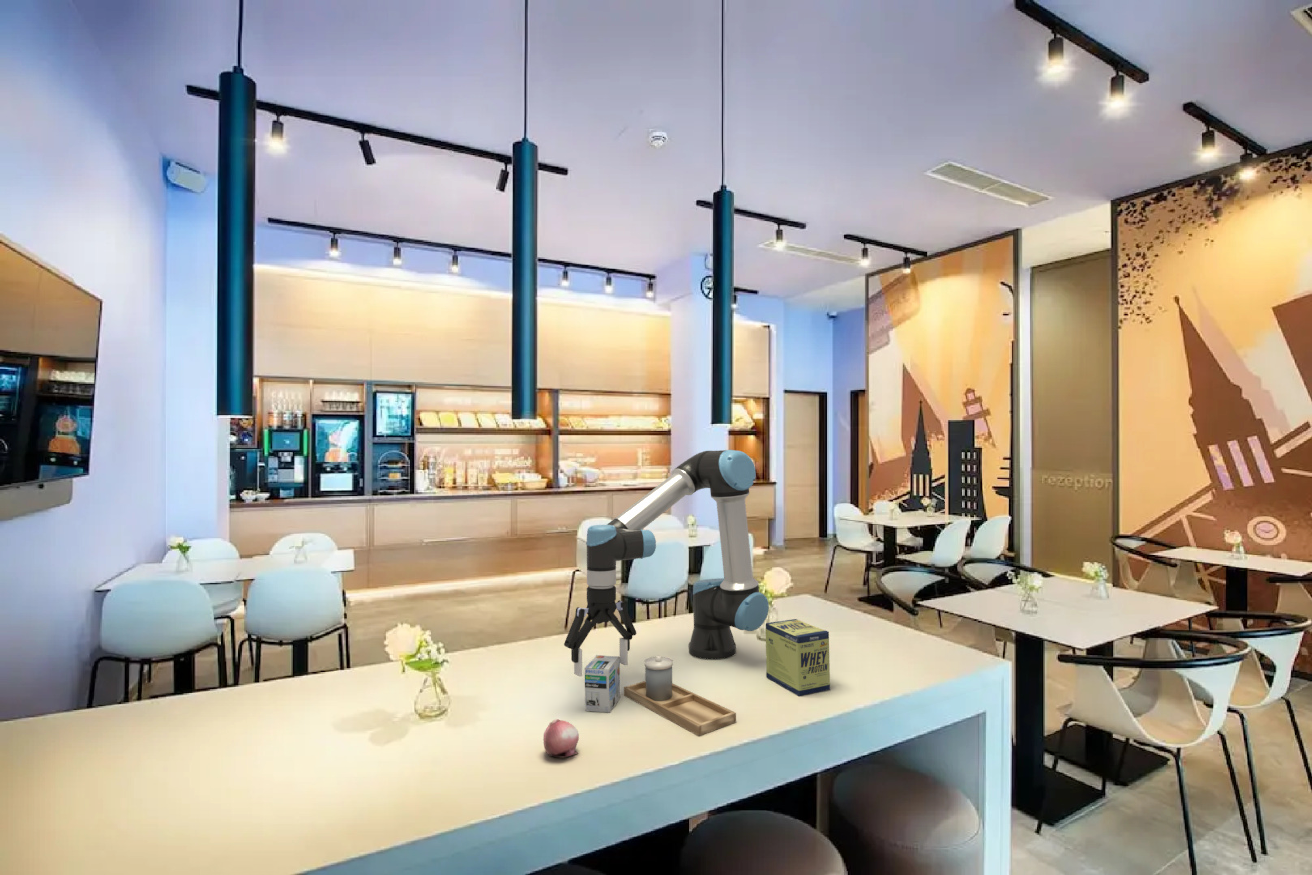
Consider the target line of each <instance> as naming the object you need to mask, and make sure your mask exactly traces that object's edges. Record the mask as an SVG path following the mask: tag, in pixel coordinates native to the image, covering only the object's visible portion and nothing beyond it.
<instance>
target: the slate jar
mask: <svg viewBox="0 0 1312 875" xmlns="http://www.w3.org/2000/svg"><path fill="white" fill-rule="evenodd" d="M643 664H644V670H645V671H644V672H645V674H644V675H645V679H644V681H645V685H646V697H648V698H650V699H652V700H654V701H666V700H669V699H671V698H672V696H673V691H672V683H673V665H674V662H673V659H672V658H670V657H667V656H661V655H657V656H650V657H647V658H645V659H644V663H643Z"/></svg>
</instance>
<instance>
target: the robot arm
mask: <svg viewBox="0 0 1312 875" xmlns="http://www.w3.org/2000/svg"><path fill="white" fill-rule="evenodd" d="M755 479H756V468H755V464H754V462H753V459H752V458H751V457H750V456H749V455H748V454H747V453H745V452H743V451H742V450H734V449H725V450H722V449H721V450H704V451H701V452H698V453H696V454H695V455H693V456H691V457H689V458H688V459H686V460H684V461H683V462H682V463H681V464H679V465H677V467H675V468H674V469H673V470H672V471H671V475H670V476H669V477H667V478H666V479H665V480H664V481H662V482H661V483H660V484H657V486H656V487H654V488H653V489H652V490H650V491H649V492H647V494H645V495H644V496H642V497H641V498H640V499H639V500H638V501H636V502H635V503H634V504H632V505H631V506H629V507H628V508H627V509H626V510H624V511H622V512H621V513H620V514H619V515H617V516H616V517H615V518H614V519H612V520H611V521H610V522H609V523H606V524H593V525H590V526H589V527H588V528H587V530H586V532H587V533H586V544H585V545H586V585H587V587H586V603H587V605H586V607H584V608H583V607H579V606H577V607H576V608H575V614H574V618H573V620H572V623H571V626H570V628H569V631H568V633H567V636H566V639H565V640H564V643H563V645H564V647H566V648H567V649H569V650H570V649H571V650H570V651H571V655H570V656H571V662H572V663H573V664H574V665H573V673H574V675H576V676H578V677H582V676H583V649H581V646H582V645H583V643H584V641H585V640H586V639H587V637H588V635H589V633H590V632H591V631H592V629H593V628H594V627H595V626H597V625H599V624H603V623H609V622H610V624H612V625H613V627H614V628H615V629H616V631H617V632H618V633H619V634H620V635H621V637H619V657H620V665H623V666H625V667H626V666H628V659H629V658H628V654H629V653H628V652H629V651H630V650H631V640H632V639H633V637H634V636H636V635H637V630H636V629H635V626H634V624H633V622H632V619H631V617H630V615H629V612H628V610H627V603H626V602H625V601H622V600H617V587H616V586H615V585H616V584H617V566H616V565H617V562H619V561H629V560H636V559H637V560H638V559H645V558H650V557H651V556H653V555H654V553H655V551H656V548H657V541H656V537H655V534H654V532H652V531H651V530H649V529H645V528H646V527H648V526H649V525H650V524H652V523H653V522H654V521H655V520H656V519H657V518H660V517H661V515H663V514H664V513H665V512H666V511H667V510H669V509H670V508H672V507H673V506H674V505H675V504H676V503H678V502H679V501H681V499H683V498H684V497H685V496H692V495H694V494H695V493H696V492H698V491H700V490H703V489H704V490H705V489H709V492H710V498H711V499H713V500H714V501H715V502H716V510H717V519H718V521H717V522H718V531H719V540H720V547H721V548H720V549H721V560H722V570H723V577H722V578H719V577H717V578H708V579H702V580H697V581H695V583H693V587H692V589H693V590H692V609H693V611H692V612H693V628H692V629H693V630H692V633H691V638H690V641H689V643H688V653H689V655H691V656H692V657H694V658H697V659H703V660H723V659H728V658H731V657H734V656H735V655H736V654H737V644H736V642H735V638H734V635H733V632H732V630H731V627H732V628H734V629H738V630H739V631H745V632H753V631H756V630H758V629H760V628H761V627H762V625H763V624H764V623H765V621H766V620H767V617H768V614H769V608H770V607H769V601H768V600H769V599H768V598H767V597H766V596H765V594H763V593H762V592H760V587H759V581H758V580H756V579H755V578H754V577H753V569H752V568H753V566H752V557H751V548H750V538H749V525H748V516H747V508H746V506H747V505H746V498H747V497H748V496H749V495H750V488H751V487H752V486H753V484H754V481H755ZM616 600H617V602H616ZM616 610H617V611H618V614H619V616H620V618H621V621H622V622H623V624H622V623H621V621H620V620H619V619H618V617H617V616H616V614H614V613H615V612H616ZM583 622H584V623H583Z"/></svg>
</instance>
